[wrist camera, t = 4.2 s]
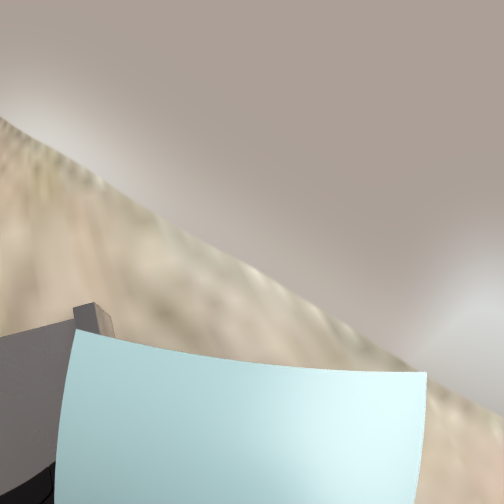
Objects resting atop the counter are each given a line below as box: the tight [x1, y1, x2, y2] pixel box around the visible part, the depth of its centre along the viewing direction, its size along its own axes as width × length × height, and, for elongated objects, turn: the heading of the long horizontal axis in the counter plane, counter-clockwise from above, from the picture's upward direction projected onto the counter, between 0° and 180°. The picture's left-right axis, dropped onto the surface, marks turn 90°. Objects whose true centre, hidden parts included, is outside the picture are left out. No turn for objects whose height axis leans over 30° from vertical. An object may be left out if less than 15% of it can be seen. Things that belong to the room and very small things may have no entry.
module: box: [54, 329, 427, 504], centre depth 8 cm, size 6×5×13 cm
